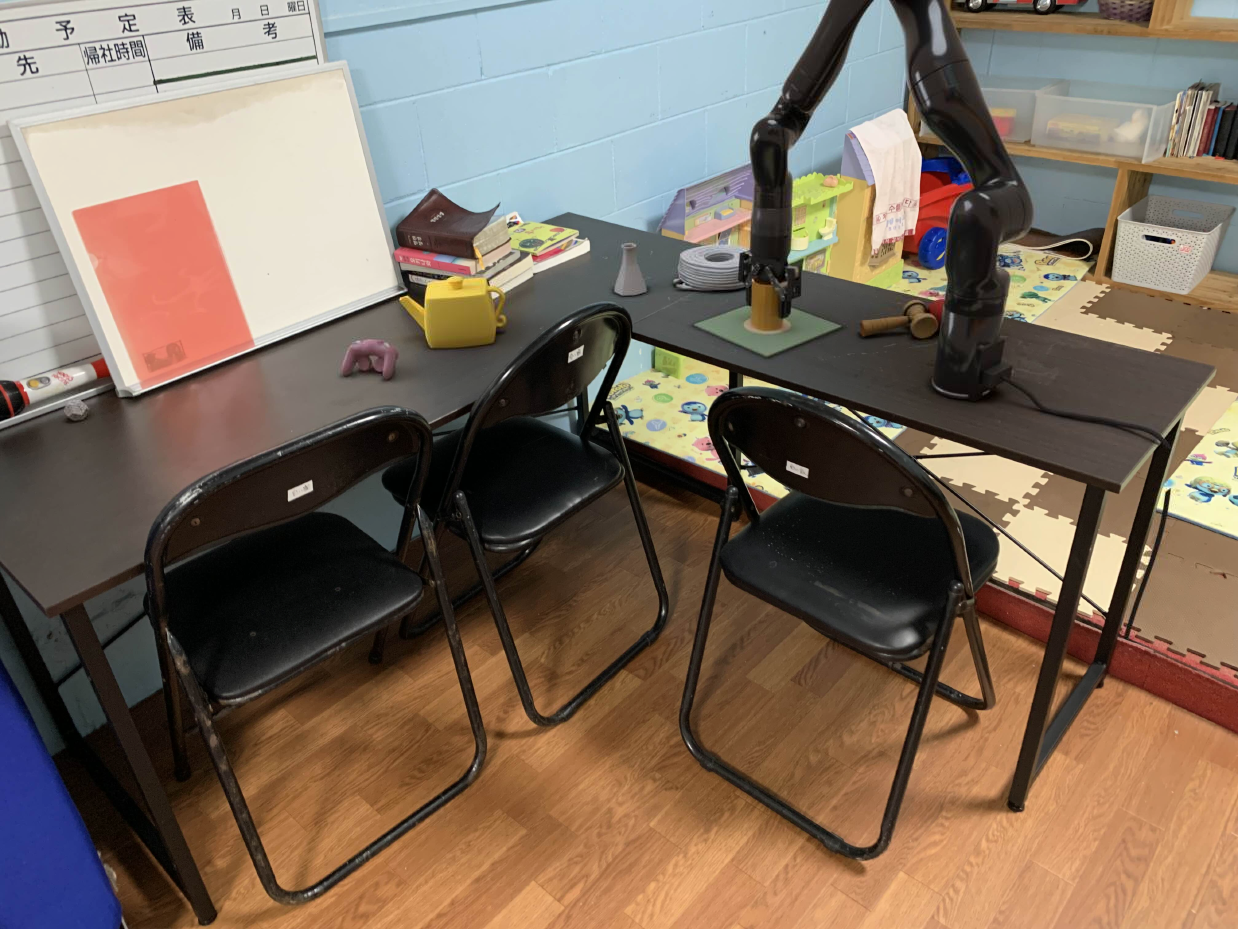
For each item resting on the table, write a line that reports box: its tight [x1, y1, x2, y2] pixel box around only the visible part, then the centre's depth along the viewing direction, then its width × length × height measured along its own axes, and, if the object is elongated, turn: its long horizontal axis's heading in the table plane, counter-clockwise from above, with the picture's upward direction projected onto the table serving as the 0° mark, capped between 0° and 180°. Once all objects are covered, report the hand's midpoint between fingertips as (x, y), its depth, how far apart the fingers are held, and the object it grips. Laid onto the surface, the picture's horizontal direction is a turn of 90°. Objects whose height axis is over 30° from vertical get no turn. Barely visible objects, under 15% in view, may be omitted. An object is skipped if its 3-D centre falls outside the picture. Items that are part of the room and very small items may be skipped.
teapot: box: [398, 275, 507, 349], centre depth 179 cm, size 20×12×12 cm, turn 96°
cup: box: [751, 277, 786, 331], centre depth 177 cm, size 6×6×9 cm
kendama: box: [859, 298, 945, 339], centre depth 173 cm, size 8×6×18 cm
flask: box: [614, 242, 648, 296], centre depth 197 cm, size 7×7×10 cm
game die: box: [63, 398, 90, 422], centre depth 158 cm, size 4×4×3 cm
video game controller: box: [341, 338, 399, 380], centre depth 168 cm, size 10×5×7 cm, turn 74°
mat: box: [693, 305, 843, 358], centre depth 179 cm, size 20×20×1 cm
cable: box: [672, 244, 754, 292], centre depth 201 cm, size 18×18×6 cm
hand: (767, 311), depth 177 cm, fingers open, 8 cm apart
